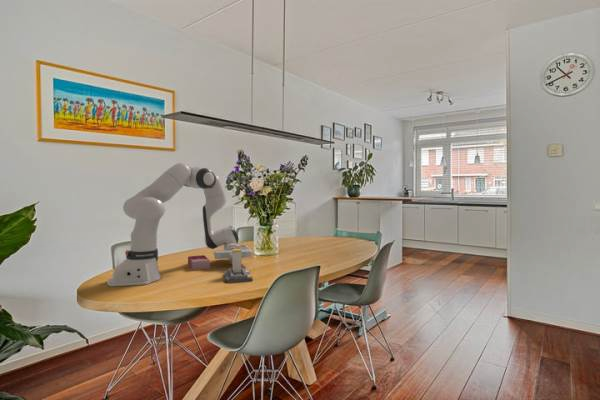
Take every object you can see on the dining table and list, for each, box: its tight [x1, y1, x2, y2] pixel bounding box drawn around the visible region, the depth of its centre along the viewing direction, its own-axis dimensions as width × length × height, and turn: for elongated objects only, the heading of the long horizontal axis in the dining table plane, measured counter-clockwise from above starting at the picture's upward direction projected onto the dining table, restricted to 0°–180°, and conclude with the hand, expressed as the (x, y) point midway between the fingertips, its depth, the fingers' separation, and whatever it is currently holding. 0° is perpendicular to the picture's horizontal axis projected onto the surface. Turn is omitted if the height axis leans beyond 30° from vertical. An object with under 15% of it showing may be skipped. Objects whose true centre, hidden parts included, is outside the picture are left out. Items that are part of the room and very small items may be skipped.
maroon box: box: [187, 254, 211, 271], centre depth 195 cm, size 9×5×20 cm
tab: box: [231, 249, 242, 273], centre depth 175 cm, size 4×4×11 cm
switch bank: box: [223, 267, 253, 283], centre depth 171 cm, size 12×16×3 cm
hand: (234, 256), depth 185 cm, fingers closed
